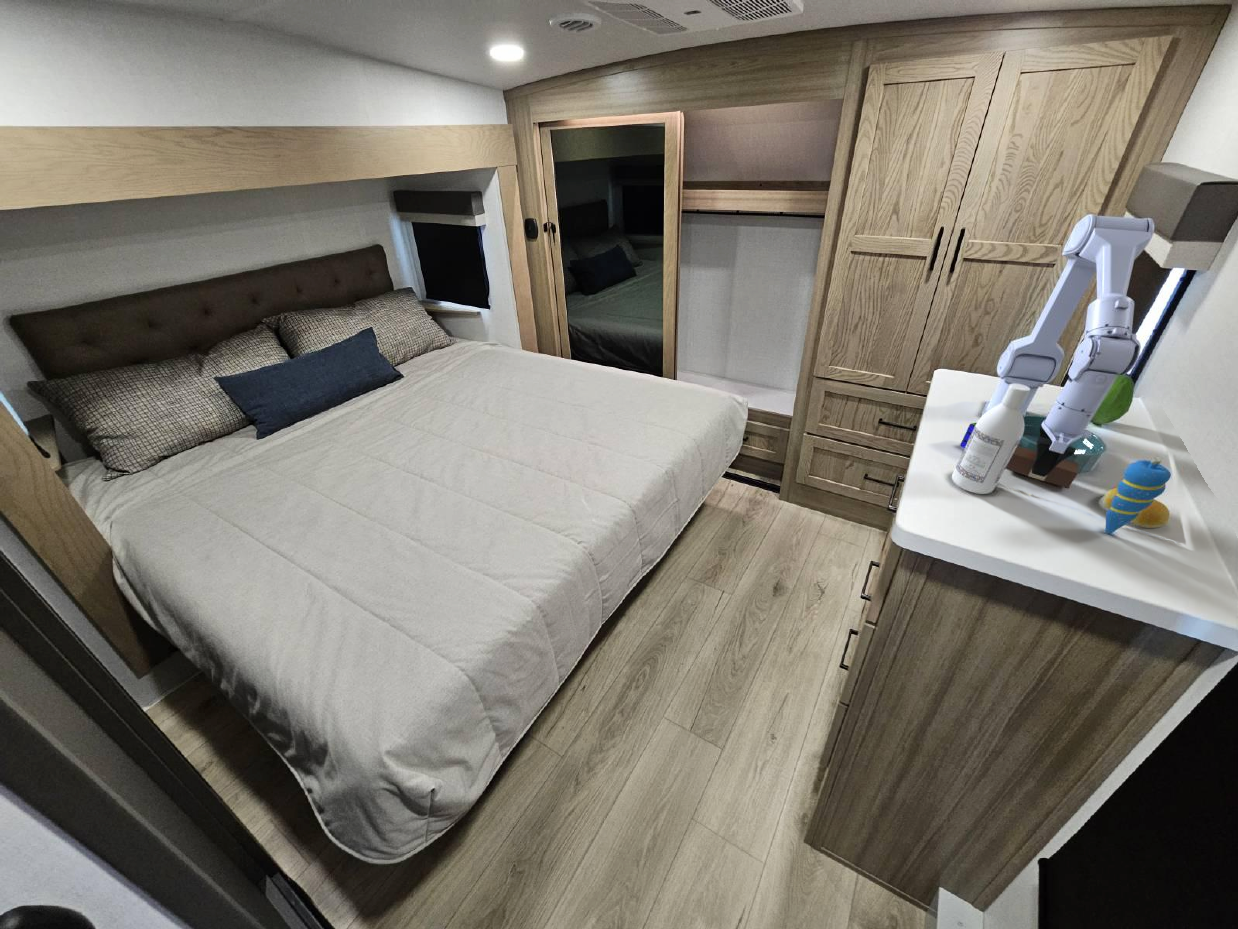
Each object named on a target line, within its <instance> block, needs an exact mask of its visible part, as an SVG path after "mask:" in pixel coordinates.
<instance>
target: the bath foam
mask: <svg viewBox="0 0 1238 929" xmlns="http://www.w3.org/2000/svg"><path fill="white" fill-rule="evenodd" d="M1029 392H1030V388H1029V387H1027V386H1025V385H1022V384H1016V383H1014V384H1010V386H1009V388H1008V390H1007V392H1006V394H1005V396H1004V398H1003V400H1002V403H1001V404H999V405H997V406H995V407H994V408H992V409H990V410H989V411H987V412H986V413H985V414H984V415H981V417H980V418H978V420H977V421H976V422H975V423H976V425H975V427H974V429H973V432H972V434H971V436H970V438H969V440H968V442H967V444H966V446H965V448H963V450H962V453H961V455H960V456H959V460H958V461H957V464H956V466H955V468H954V470H953V472H952V475H951V479H952V481H953V482H954V484H955V485H956V486H958V487H959V488H961V489H963V490H964V491H967V492H970V493H972V494H979V495H985V494H990V493H992V492H993V491H994V490H995V488H996V487H997V484H998V483H999V481H1000V479H1001V477H1002V475H1003V474H1004V472H1005V470H1006V469H1005V468H1006V466H1007V464H1008V462H1009V461H1010V459H1011V457H1012V455H1013V453H1014V451H1015V449H1016V447H1017V446H1018V444H1019V442H1020V440H1021V438H1022V435H1023V432H1024V418H1023V414H1022V411H1021V407H1022V405H1023V404H1024V402H1025V400H1026V398H1027V396H1028V394H1029Z"/></svg>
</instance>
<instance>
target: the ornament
mask: <svg viewBox="0 0 1238 929" xmlns="http://www.w3.org/2000/svg"><path fill="white" fill-rule="evenodd" d="M1157 457H1159V458H1160V459H1158V458H1157ZM1162 459H1163V458H1162V457H1161V456H1159V455H1157V456H1155V457H1154V458H1153V459H1152V460H1146V459H1140V460H1136V461H1134V462H1132V463H1131V464H1129V465H1128V466H1127V467H1125V468H1126V469H1125V470H1124V473H1123V479H1121V480H1120V481H1119V483H1118V484H1117V487H1118V494H1116V495H1115V496H1114V498H1113V500H1112V506H1111V508H1110V509H1109V510H1108V511H1106V515H1105V528H1104V532H1105V533H1106V534H1107V535H1111V534H1113V533H1114V532H1116V531H1117V530H1119V529H1121V528H1122V527H1123V526H1125V525H1127V524H1129V523H1131V522H1130V521H1132V520H1133V519H1135V518H1136V517H1137V516H1138V515H1139V514H1140V512H1141V510H1143V509H1145V508H1147V507H1148V506H1150V505H1151V504H1152V502H1153V500H1154V499H1156V498H1157V497H1160V496H1161V495H1162V494H1163V493H1164V492H1165V491H1166V485H1167V484H1166V483H1168V481H1169V480H1170V479H1171V476H1172V474H1171V471H1170V470H1169V469H1168V468H1167V467H1166V466H1163V465H1162V464H1161V463H1162V461H1161V460H1162Z"/></svg>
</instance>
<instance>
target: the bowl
mask: <svg viewBox="0 0 1238 929" xmlns="http://www.w3.org/2000/svg"><path fill="white" fill-rule="evenodd" d="M1023 418H1024V432H1023V435H1022V438H1021V440H1020V442H1019V444H1018V446H1020V447H1023V448H1027V449H1030V450H1033V451H1037V438H1038V436H1039V437H1040V425H1042V423H1043V421H1044V420H1045V419H1046V418H1047V416H1045V415H1039V414H1026V415H1023ZM1085 430H1087V431H1089V430H1088V429H1087V428H1086V429H1085ZM1090 432H1091V433H1092V434H1091V437H1090V438H1089V439H1086V438H1080V439H1078V440H1076V441H1074V442H1073V443H1071V444H1069V445H1068V447H1072V448H1075V449H1076V450H1075V453H1074V454H1073V455H1072V456H1070V457H1068V458H1066V459H1064V460H1068V461H1071V462H1075V463H1078V464H1079V465H1078V474H1083V473H1088V472H1091V471H1092V470H1094V469H1095V468H1096V467H1097V466H1098V464H1099V462H1100V461H1101V459H1102V458H1103V456H1104V454H1105V453H1106V452H1107V444H1106V443H1105V442H1104V440H1103V439H1102V438H1101V437H1100V436H1098V435H1096V434H1095V433H1093V432H1092V431H1090Z"/></svg>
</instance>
